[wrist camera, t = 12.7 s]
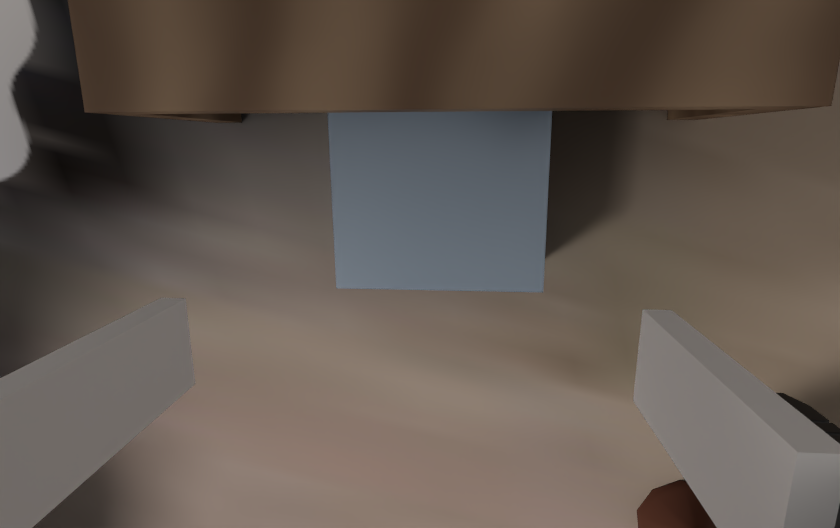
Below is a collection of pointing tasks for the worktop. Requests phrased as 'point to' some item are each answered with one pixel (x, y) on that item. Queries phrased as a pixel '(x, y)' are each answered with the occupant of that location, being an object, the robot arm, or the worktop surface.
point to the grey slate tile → (440, 199)
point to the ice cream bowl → (673, 508)
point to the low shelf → (453, 56)
